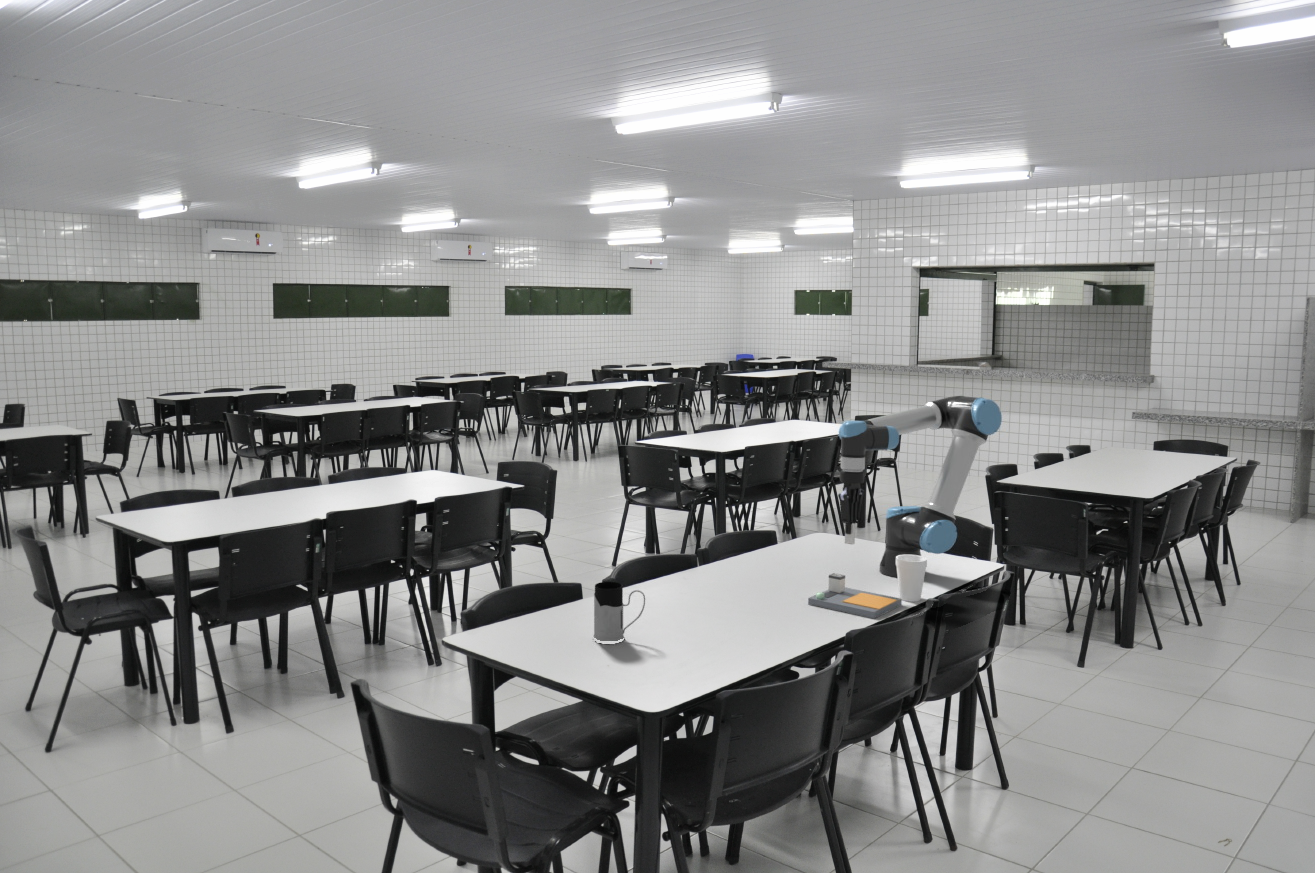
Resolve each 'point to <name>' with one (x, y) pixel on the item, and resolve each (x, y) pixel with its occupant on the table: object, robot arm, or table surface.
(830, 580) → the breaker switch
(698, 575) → the table surface
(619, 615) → the glass holder
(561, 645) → the table surface
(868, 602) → the grey flat block
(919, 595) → the foam cup
